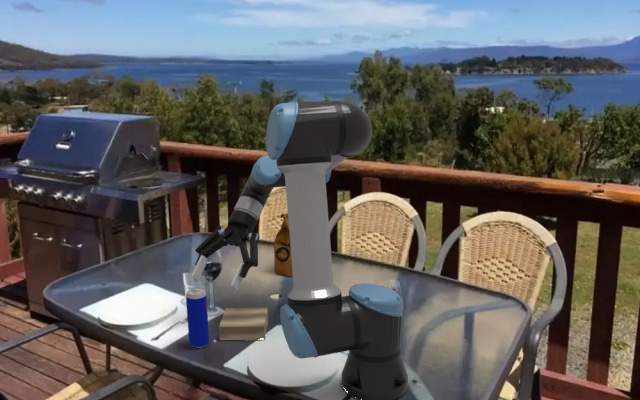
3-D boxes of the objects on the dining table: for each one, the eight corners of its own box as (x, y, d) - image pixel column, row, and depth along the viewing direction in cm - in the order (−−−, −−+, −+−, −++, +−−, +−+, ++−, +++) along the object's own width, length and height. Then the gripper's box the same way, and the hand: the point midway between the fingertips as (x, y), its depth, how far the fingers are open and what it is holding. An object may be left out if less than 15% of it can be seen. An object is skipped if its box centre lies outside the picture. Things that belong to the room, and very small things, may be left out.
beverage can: (213, 344, 150) (210, 291, 146) (196, 351, 146) (192, 297, 143) (202, 338, 153) (199, 285, 150) (185, 344, 150) (181, 291, 146)
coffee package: (269, 274, 199) (267, 213, 194) (288, 263, 210) (286, 205, 205) (294, 278, 195) (293, 216, 190) (311, 267, 205) (311, 208, 200)
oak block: (264, 340, 152) (264, 326, 151) (219, 340, 152) (218, 327, 151) (268, 320, 163) (267, 307, 163) (226, 320, 163) (225, 308, 162)
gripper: (287, 228, 159) (257, 297, 150) (217, 217, 171) (186, 280, 162) (276, 214, 153) (244, 285, 144) (205, 203, 166) (171, 268, 156)
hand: (213, 283), depth 153 cm, fingers open, 13 cm apart
